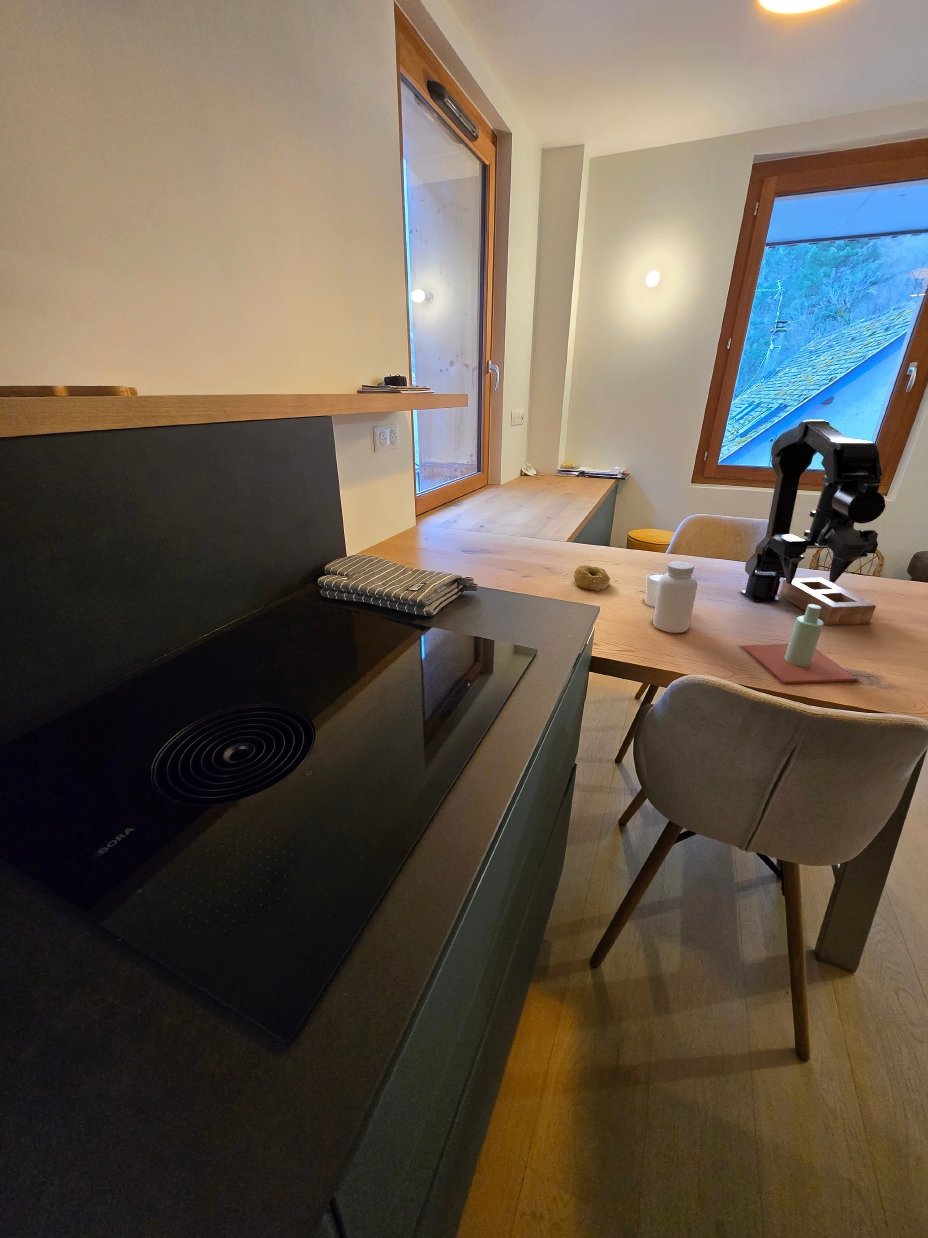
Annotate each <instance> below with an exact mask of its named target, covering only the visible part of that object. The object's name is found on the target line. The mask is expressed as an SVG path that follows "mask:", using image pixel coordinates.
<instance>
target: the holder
mask: <svg viewBox="0 0 928 1238" xmlns="http://www.w3.org/2000/svg"><path fill="white" fill-rule="evenodd" d="M778 596H780V597H782V598H784V599H785V600H787V601H788V602H789V603H791V604H793V605H795V606H796V607H798V608H800V609H801V610H802V611H804V612H806V609H807V606H808V605H809V604H815V605H819V606H821V611H820V614H819V617H818V619H820V620H822V621H823V623H824V624H825V625H828V626H829V625H830V626H831V625H854V624H855V625H857V624H859V625H860V624H861V625H862V624H871V621H872V618H873V616H874V613H875V610H876V608H877V605H876V604H874V603H872V602H870V601H868V600H866V599H864V598H862V597H860V596H858V595H856V594H854V593H852V592H851V591H848V590H847V589H845V588H843V587H841V586H838V585H837V584H835V583H832V582H830V581H829V580H828V579H825V578H823V577H803V578H802V577H799V578H794V579H793V581H792V584H788V583H787V582H786V578H783V580H782V583H781V588H780V590H779V594H778Z"/></svg>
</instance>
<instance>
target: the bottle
mask: <svg viewBox="0 0 928 1238" xmlns="http://www.w3.org/2000/svg"><path fill="white" fill-rule="evenodd" d="M820 611H821V606H819V605H815V604H809V605H808V606H807V609H806V611H804V612H805V613H804V615H799V616H798V615H797V617H796V619H795V622H794V625H793V628H792V631H791V635H790V638H789V641H788V643H787V644H788V648H787V651H786V654H785V657H784V658H785V660H786V661H787V662H788V663H790V664H793V665H796V666H809V665H810V663H811V660H812V657H813V654H814V651H815V649H817V648H816V647H817V645H818V642H819V639H820V636H821V633H822V630H823V627H824V624H825V623H823V621H822V620H820V619H818V617H819V614H820Z"/></svg>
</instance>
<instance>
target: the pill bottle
mask: <svg viewBox="0 0 928 1238" xmlns="http://www.w3.org/2000/svg"><path fill="white" fill-rule="evenodd" d="M694 569H695V567H694V564H692V563H690V562H686V561H679V560H678V561H676V560H675V561H670V562H669V563H667V566H666V573H663V574H664V575H662V576H661V578H660V580H659V585H658V591H657V598H656V604H655V607H654V610H653V611H654V612H653V617H652V624H653V626H654V627H655V628H656V629H658V630H660V631H663V632H667V633H674V634H675V633H676V634H677V633H678V634H679V633H684V632H686V631H688V630H689V628H690V625H691V621H692V615H693V609H694V606H695V605H694V604H695V600H696V596H697V595H696V594H697V590H698V581H697V579H696V578H695V577H694V576H693V574H694Z"/></svg>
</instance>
